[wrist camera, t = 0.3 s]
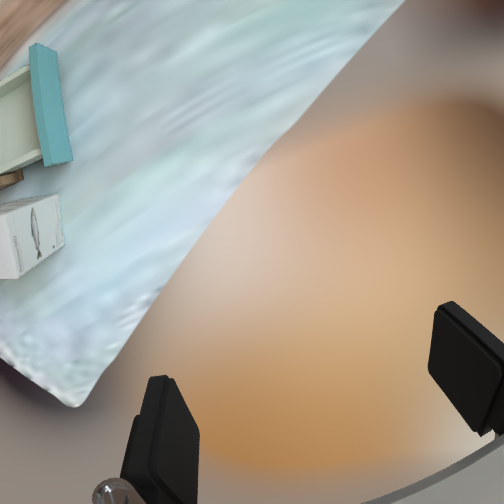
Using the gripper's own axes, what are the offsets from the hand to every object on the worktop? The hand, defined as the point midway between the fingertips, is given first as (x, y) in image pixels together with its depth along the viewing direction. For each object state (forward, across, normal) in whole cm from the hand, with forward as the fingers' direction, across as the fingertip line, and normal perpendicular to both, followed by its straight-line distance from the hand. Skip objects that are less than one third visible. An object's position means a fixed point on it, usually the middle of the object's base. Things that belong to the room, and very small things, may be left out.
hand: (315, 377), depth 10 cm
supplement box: (+31, +28, -5) cm, 42 cm away
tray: (+29, +29, -19) cm, 46 cm away
